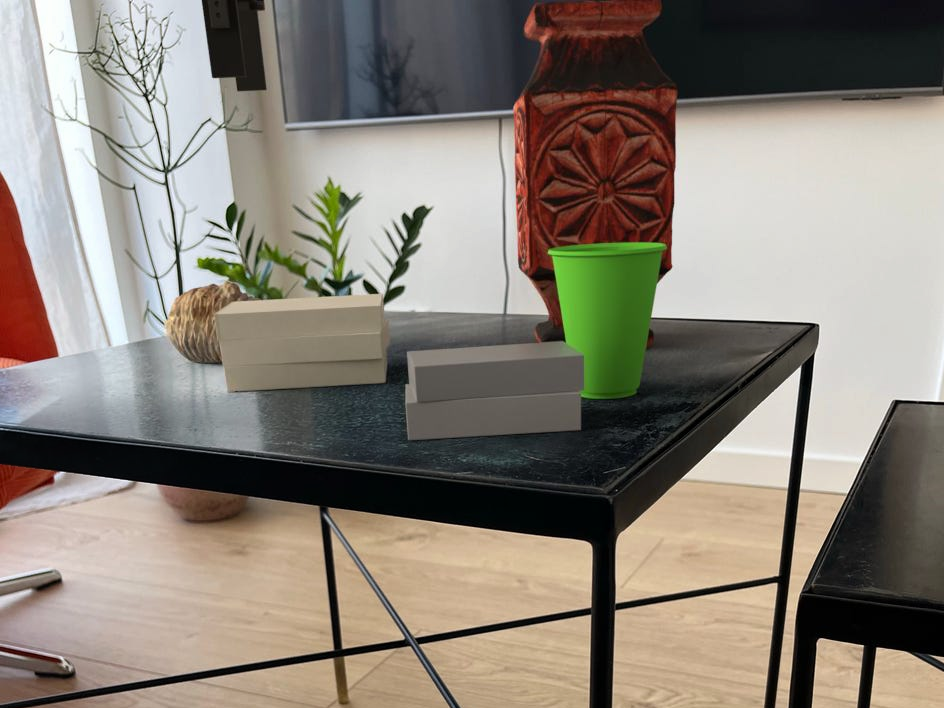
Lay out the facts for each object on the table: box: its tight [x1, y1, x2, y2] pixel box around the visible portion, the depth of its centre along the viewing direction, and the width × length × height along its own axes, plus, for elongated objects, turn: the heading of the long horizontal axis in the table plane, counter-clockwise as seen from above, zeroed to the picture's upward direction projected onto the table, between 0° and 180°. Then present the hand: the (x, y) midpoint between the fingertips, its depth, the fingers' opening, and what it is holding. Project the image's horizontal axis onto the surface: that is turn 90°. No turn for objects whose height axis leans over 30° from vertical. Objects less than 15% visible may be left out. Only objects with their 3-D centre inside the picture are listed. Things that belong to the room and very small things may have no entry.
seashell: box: [163, 280, 262, 364], centre depth 106 cm, size 14×10×10 cm
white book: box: [214, 293, 386, 341], centre depth 92 cm, size 14×10×2 cm
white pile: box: [219, 317, 391, 393], centre depth 93 cm, size 14×11×4 cm
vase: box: [512, 0, 679, 349], centre depth 99 cm, size 14×14×30 cm
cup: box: [548, 242, 667, 400], centre depth 79 cm, size 9×9×11 cm
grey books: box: [404, 341, 584, 442], centre depth 72 cm, size 12×8×5 cm, turn 94°
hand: (241, 85), depth 90 cm, fingers open, 13 cm apart
